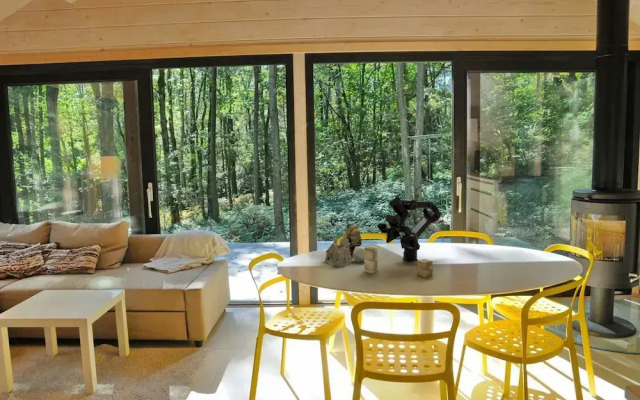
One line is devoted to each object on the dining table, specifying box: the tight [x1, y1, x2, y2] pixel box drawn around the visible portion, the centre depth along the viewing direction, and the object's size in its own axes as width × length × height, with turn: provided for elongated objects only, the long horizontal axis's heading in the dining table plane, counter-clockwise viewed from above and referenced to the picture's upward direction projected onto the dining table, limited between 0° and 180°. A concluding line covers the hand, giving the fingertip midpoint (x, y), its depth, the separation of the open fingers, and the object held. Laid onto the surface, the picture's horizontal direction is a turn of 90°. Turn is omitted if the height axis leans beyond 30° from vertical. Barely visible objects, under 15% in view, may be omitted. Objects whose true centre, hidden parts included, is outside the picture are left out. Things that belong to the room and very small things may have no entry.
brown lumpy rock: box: [345, 224, 363, 257], centre depth 262 cm, size 18×12×17 cm, turn 1°
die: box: [352, 246, 366, 263], centre depth 244 cm, size 8×9×10 cm
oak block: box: [416, 258, 434, 278], centre depth 215 cm, size 5×5×7 cm
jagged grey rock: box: [324, 233, 353, 267], centre depth 242 cm, size 16×16×15 cm
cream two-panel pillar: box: [364, 245, 379, 274], centre depth 222 cm, size 5×4×12 cm
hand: (387, 242), depth 230 cm, fingers closed
